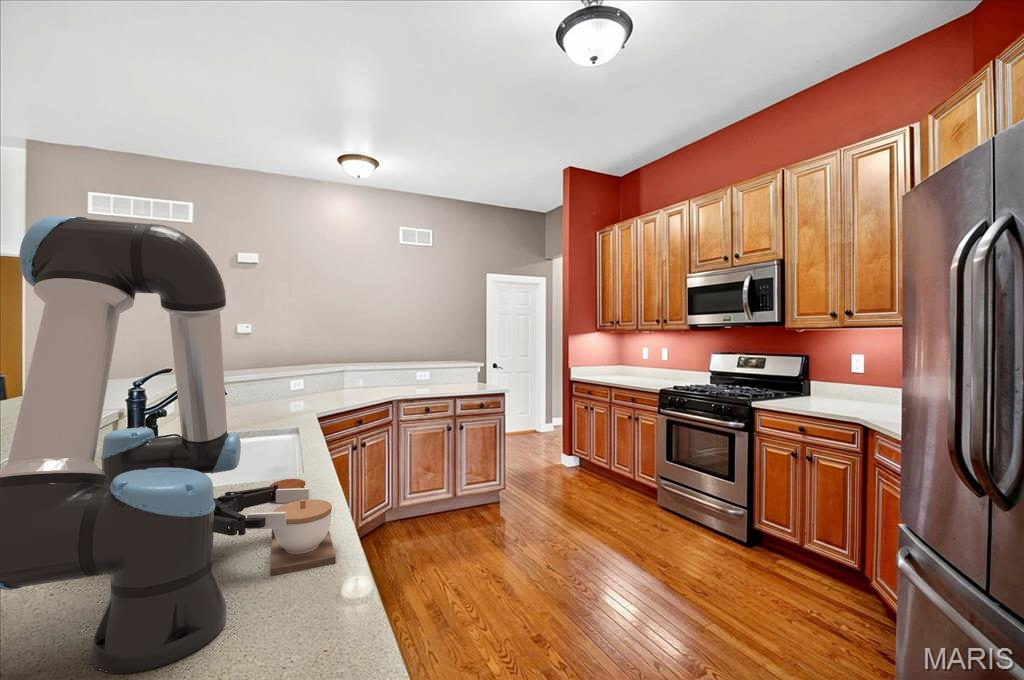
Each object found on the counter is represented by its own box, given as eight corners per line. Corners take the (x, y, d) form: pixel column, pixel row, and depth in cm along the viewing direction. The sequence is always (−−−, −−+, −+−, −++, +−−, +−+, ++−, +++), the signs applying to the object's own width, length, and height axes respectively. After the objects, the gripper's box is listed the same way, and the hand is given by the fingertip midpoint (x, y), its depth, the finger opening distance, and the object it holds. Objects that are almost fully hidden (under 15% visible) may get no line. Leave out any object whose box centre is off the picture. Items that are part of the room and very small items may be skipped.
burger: (261, 497, 122) (262, 480, 122) (297, 490, 129) (297, 473, 129) (275, 507, 116) (275, 489, 116) (312, 498, 122) (312, 481, 122)
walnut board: (335, 562, 87) (335, 548, 87) (270, 575, 82) (270, 560, 82) (327, 532, 101) (328, 519, 101) (271, 542, 96) (271, 528, 96)
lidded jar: (309, 531, 98) (310, 488, 98) (342, 543, 93) (343, 497, 93) (260, 551, 89) (261, 503, 89) (293, 565, 83) (294, 514, 83)
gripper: (215, 506, 101) (316, 503, 103) (138, 560, 76) (273, 554, 79) (216, 472, 101) (316, 469, 103) (138, 515, 76) (273, 511, 79)
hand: (298, 506), depth 91 cm, fingers open, 13 cm apart
